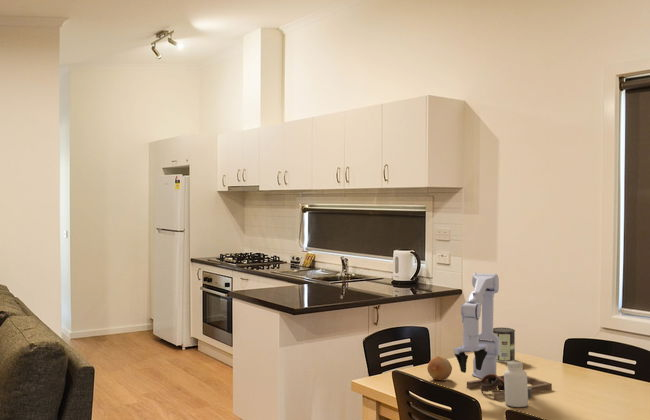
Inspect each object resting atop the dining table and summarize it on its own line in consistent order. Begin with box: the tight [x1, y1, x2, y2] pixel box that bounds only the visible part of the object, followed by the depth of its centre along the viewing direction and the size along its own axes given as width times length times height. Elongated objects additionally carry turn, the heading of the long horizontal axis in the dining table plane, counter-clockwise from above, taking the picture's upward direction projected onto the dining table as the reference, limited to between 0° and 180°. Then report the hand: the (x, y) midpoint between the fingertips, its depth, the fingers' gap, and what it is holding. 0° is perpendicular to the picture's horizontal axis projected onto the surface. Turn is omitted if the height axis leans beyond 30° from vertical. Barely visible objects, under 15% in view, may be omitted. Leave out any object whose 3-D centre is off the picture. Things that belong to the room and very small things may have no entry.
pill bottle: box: [503, 360, 529, 408], centre depth 220 cm, size 8×8×15 cm
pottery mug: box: [480, 373, 505, 394], centre depth 235 cm, size 12×10×8 cm
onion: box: [427, 355, 453, 381], centre depth 252 cm, size 10×10×10 cm
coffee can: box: [491, 327, 516, 363], centre depth 284 cm, size 10×10×14 cm
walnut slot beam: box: [466, 375, 553, 401], centre depth 239 cm, size 17×28×2 cm, turn 116°
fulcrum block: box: [527, 386, 532, 399], centre depth 230 cm, size 3×3×3 cm
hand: (470, 370), depth 231 cm, fingers open, 7 cm apart
